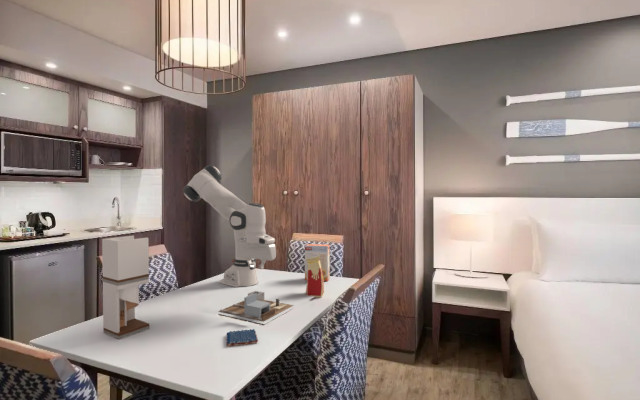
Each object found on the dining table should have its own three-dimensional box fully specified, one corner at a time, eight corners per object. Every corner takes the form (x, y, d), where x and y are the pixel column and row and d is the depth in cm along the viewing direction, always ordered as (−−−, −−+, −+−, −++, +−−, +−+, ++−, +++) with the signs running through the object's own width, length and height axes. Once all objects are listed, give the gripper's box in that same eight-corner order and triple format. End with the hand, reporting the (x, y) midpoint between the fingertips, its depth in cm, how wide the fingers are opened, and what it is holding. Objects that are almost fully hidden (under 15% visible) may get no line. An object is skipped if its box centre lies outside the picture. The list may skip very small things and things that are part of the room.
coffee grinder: (118, 339, 124) (117, 241, 123) (103, 332, 129) (102, 238, 128) (149, 328, 133) (148, 237, 132) (133, 323, 139) (132, 235, 138)
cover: (244, 314, 144) (244, 297, 144) (255, 309, 150) (255, 293, 150) (259, 318, 140) (259, 300, 140) (270, 312, 146) (270, 295, 146)
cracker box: (329, 279, 209) (329, 244, 209) (327, 281, 203) (327, 245, 203) (307, 277, 212) (307, 243, 212) (304, 280, 207) (304, 244, 206)
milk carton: (324, 292, 182) (324, 254, 182) (322, 297, 173) (322, 257, 172) (306, 291, 183) (306, 253, 182) (304, 297, 174) (304, 257, 173)
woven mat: (258, 345, 121) (258, 339, 121) (226, 348, 118) (226, 342, 118) (255, 333, 131) (255, 327, 131) (226, 336, 128) (226, 330, 128)
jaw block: (247, 302, 160) (247, 293, 160) (255, 299, 165) (255, 290, 165) (257, 304, 158) (257, 295, 158) (264, 300, 163) (264, 292, 163)
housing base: (218, 314, 149) (218, 304, 148) (251, 300, 168) (251, 291, 168) (263, 325, 137) (263, 313, 137) (293, 308, 157) (293, 298, 157)
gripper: (234, 237, 163) (234, 267, 163) (269, 240, 153) (269, 272, 154) (243, 236, 168) (243, 264, 169) (278, 239, 159) (277, 269, 159)
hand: (256, 268), depth 161 cm, fingers open, 5 cm apart
